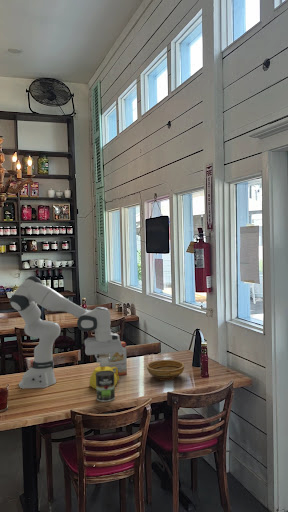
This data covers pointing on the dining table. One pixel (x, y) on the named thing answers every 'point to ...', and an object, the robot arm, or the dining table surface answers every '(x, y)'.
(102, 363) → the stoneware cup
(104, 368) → the teapot
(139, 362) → the dining table surface
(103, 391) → the coffee can
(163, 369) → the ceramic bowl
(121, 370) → the cracker box
